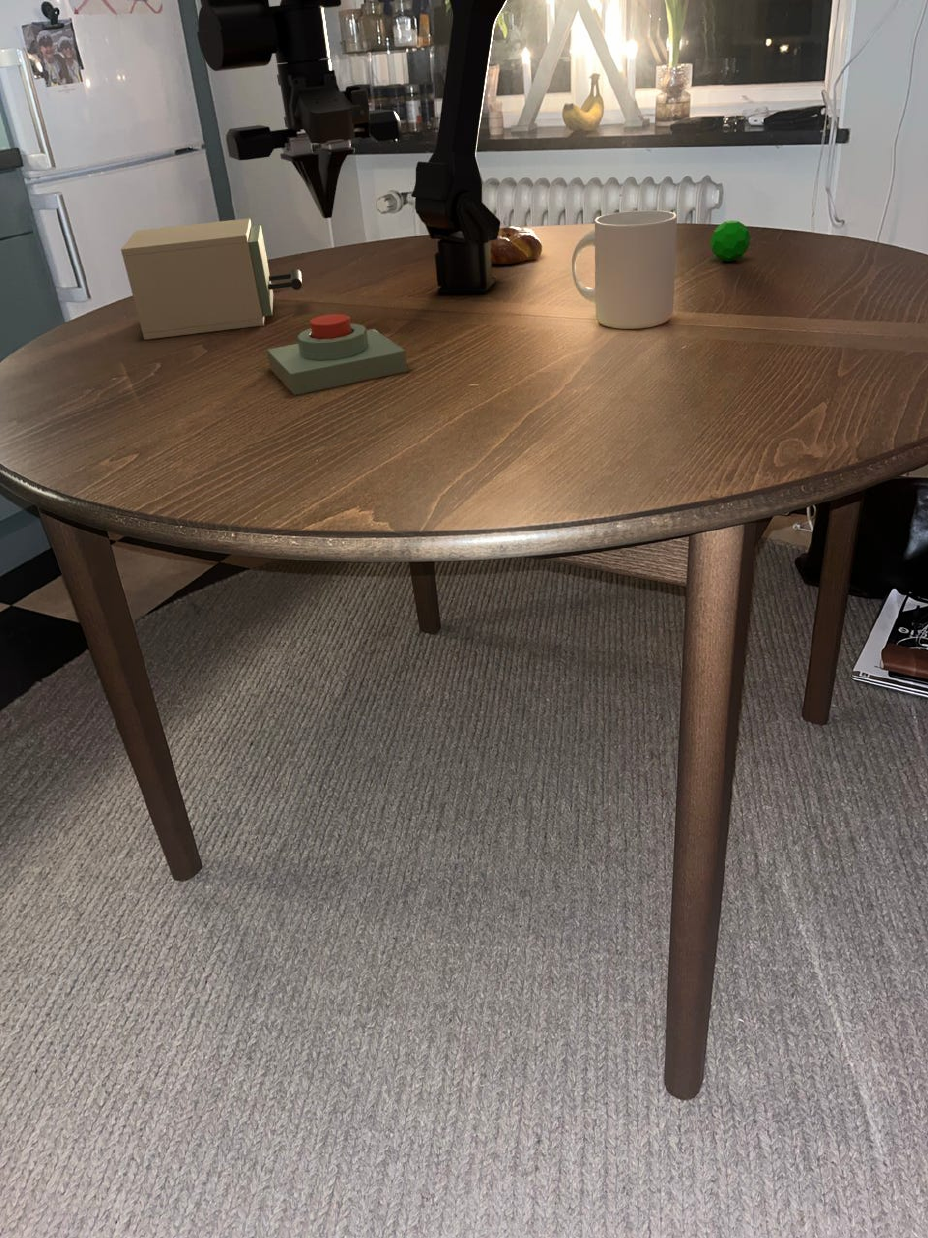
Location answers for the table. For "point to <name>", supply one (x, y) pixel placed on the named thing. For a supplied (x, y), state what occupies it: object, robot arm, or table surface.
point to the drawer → (263, 274)
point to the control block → (336, 360)
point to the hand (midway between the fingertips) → (327, 217)
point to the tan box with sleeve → (193, 278)
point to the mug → (631, 268)
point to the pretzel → (514, 246)
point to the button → (330, 326)
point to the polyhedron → (730, 240)
